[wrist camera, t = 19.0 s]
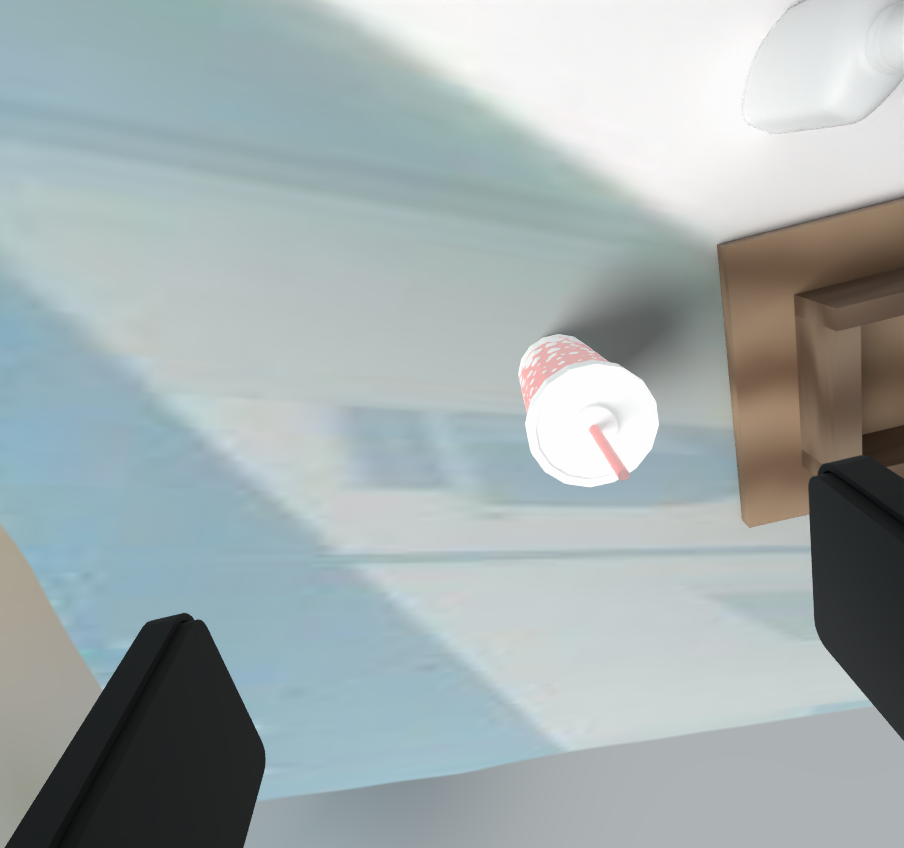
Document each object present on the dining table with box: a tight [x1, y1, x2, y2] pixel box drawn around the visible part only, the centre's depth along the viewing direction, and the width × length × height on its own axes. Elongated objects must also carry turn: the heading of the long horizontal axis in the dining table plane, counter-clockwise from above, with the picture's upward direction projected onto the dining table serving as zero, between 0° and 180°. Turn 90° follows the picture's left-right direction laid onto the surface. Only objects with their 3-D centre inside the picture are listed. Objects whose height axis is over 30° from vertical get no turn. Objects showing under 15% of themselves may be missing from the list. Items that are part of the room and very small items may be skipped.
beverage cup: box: [518, 334, 659, 487], centre depth 32 cm, size 6×6×14 cm
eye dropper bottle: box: [742, 0, 904, 133], centre depth 27 cm, size 4×6×12 cm
